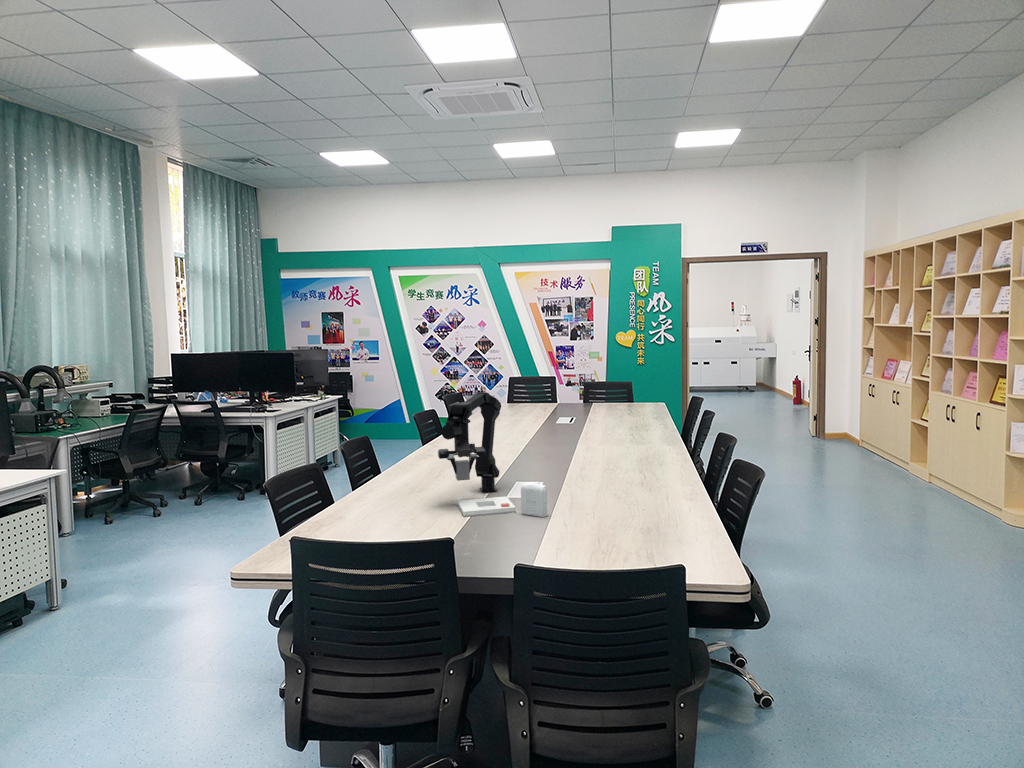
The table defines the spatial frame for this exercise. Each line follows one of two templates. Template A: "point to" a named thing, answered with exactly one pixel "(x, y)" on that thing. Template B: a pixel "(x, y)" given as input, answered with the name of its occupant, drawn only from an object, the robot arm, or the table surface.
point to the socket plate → (486, 506)
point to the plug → (462, 470)
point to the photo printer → (534, 499)
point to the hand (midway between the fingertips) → (462, 473)
